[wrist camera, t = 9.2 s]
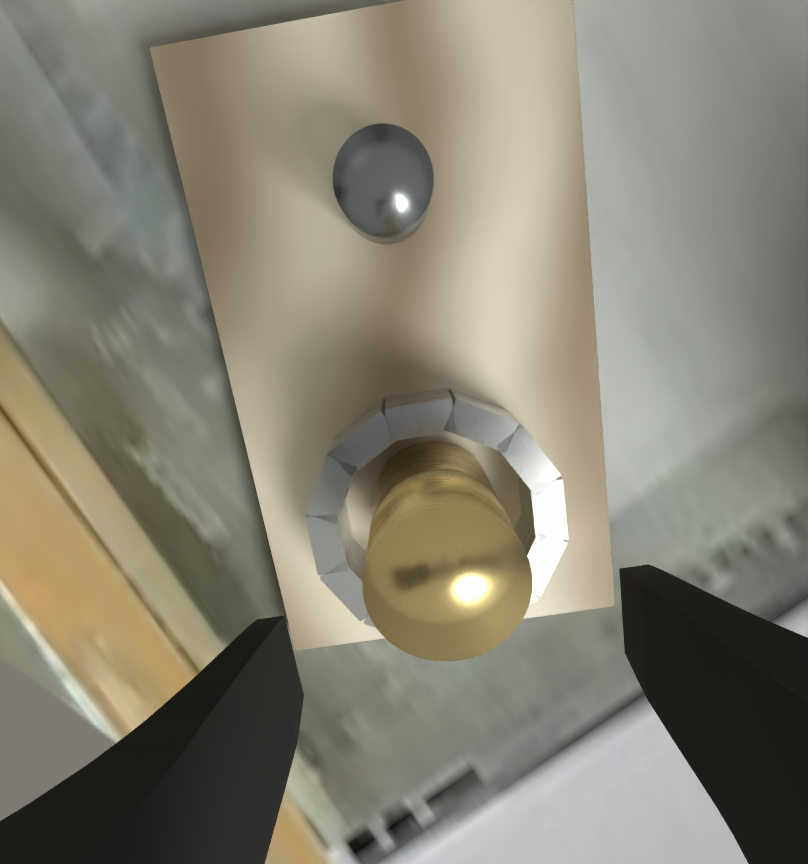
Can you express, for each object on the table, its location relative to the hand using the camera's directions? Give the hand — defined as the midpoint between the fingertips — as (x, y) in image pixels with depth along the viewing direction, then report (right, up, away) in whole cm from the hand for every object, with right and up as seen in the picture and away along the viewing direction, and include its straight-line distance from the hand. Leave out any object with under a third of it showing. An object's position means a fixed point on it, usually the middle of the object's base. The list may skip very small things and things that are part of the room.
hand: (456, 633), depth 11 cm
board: (-1, +7, +7) cm, 10 cm away
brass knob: (0, +2, +7) cm, 7 cm away
